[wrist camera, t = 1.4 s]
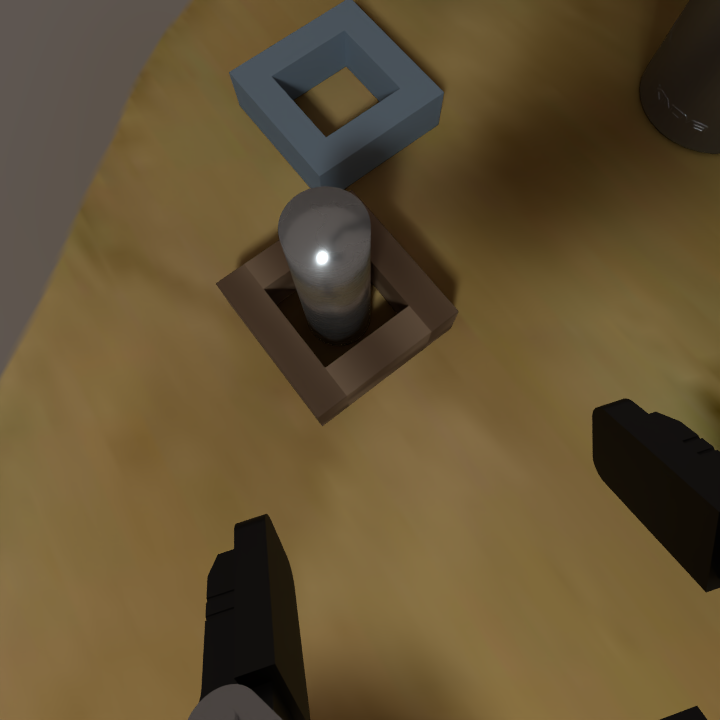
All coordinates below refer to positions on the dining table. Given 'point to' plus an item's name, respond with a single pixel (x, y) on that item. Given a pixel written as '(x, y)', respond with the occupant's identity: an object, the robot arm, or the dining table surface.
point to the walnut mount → (366, 359)
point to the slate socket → (315, 64)
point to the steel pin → (329, 261)
